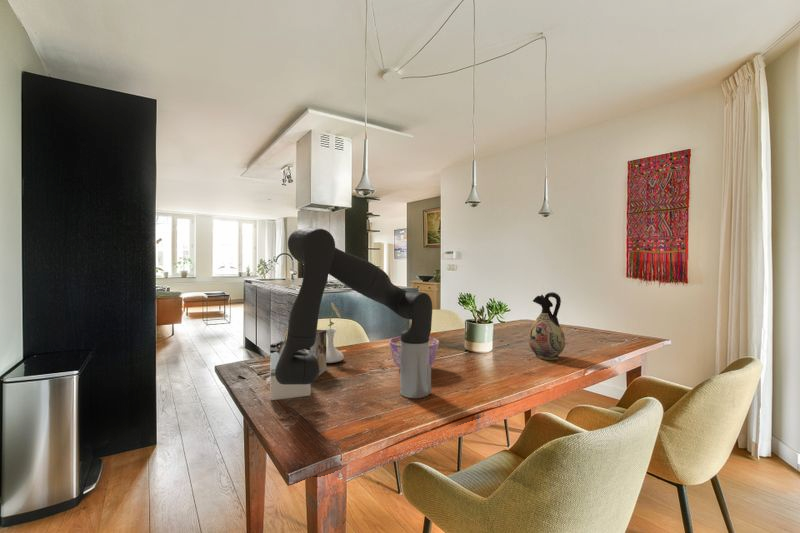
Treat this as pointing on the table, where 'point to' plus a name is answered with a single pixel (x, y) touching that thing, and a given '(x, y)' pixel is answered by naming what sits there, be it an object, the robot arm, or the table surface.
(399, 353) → the purple patterned bowl
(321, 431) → the table surface
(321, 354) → the coffee box
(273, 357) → the lid
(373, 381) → the table surface
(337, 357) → the flower in vase
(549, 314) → the ceramic jug
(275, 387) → the crate
